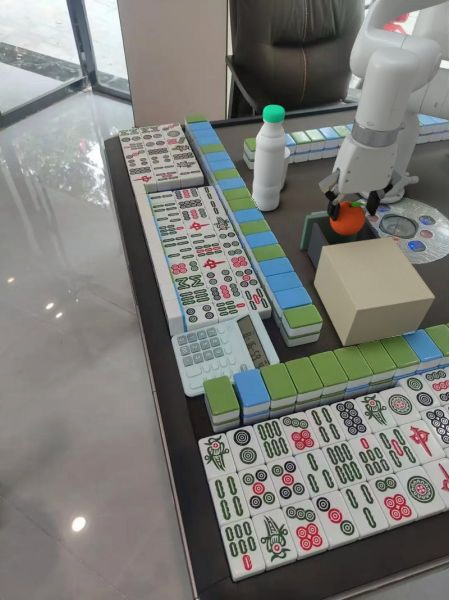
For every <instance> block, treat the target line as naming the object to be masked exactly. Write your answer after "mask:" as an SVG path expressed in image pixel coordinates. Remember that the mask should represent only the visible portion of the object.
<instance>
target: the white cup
mask: <svg viewBox="0 0 449 600" xmlns="http://www.w3.org/2000/svg"><path fill="white" fill-rule="evenodd" d="M290 157H291V150H290V149H289V147H287V145H286V146H285V158H284V166H283V173H282V178H281V189H280V191H281V190H283V188H284V186H285V181H286V178H287V172H288V167H289V161H290Z"/></svg>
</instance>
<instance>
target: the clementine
mask: <svg viewBox="0 0 449 600" xmlns="http://www.w3.org/2000/svg"><path fill="white" fill-rule="evenodd" d="M339 203H340V210H339V214H338V218H337V220H336V221H332V219H331V217H330V223H331V226H332V228H333V229H334V231H336V232H337V233H339V234H341V235H346V236H347V235H353V234H355V233H357V232H358V231H359V230H360V229H361V228H362V227H363V225H364V222H365V216H366V215H365V213H364V210H363V209H362V208H363V207H362V206H364V207H365V206H366V203H365V204H364V203H363V202H361V201H352V200H351V201H350V200H346V201H340V202H339ZM366 207H367V206H366Z"/></svg>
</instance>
